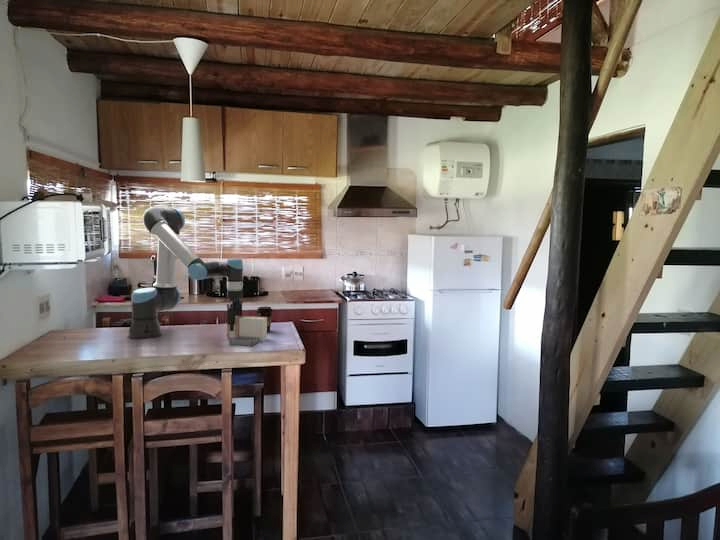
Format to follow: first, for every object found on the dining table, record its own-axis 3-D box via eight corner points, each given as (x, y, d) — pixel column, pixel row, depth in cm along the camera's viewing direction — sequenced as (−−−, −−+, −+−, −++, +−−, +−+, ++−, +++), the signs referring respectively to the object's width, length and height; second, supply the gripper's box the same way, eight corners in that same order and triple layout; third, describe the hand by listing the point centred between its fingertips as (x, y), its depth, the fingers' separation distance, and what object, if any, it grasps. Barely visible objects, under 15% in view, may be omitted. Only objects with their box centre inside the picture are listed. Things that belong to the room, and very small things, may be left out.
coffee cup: (274, 330, 260) (274, 306, 259) (270, 333, 252) (270, 309, 251) (258, 329, 261) (259, 305, 260) (254, 332, 253) (254, 308, 252)
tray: (229, 344, 227) (229, 340, 226) (237, 340, 236) (237, 335, 235) (252, 346, 225) (252, 341, 225) (259, 341, 234) (259, 337, 234)
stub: (227, 339, 238) (227, 316, 237) (231, 336, 243) (231, 315, 242) (238, 339, 237) (238, 317, 236) (242, 337, 242) (242, 315, 241)
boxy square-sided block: (238, 340, 236) (238, 317, 235) (243, 337, 242) (243, 315, 241) (262, 341, 234) (262, 319, 233) (266, 338, 240) (266, 316, 239)
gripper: (234, 292, 228) (234, 340, 230) (249, 287, 246) (249, 332, 248) (219, 291, 229) (219, 339, 231) (235, 287, 247) (235, 331, 249)
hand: (234, 335), depth 240 cm, fingers closed on stub, 5 cm apart
